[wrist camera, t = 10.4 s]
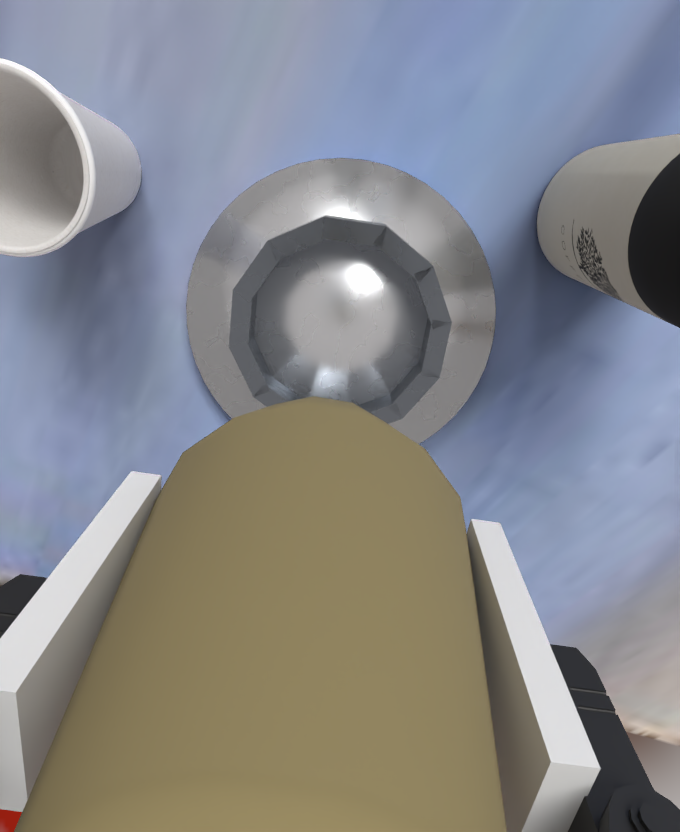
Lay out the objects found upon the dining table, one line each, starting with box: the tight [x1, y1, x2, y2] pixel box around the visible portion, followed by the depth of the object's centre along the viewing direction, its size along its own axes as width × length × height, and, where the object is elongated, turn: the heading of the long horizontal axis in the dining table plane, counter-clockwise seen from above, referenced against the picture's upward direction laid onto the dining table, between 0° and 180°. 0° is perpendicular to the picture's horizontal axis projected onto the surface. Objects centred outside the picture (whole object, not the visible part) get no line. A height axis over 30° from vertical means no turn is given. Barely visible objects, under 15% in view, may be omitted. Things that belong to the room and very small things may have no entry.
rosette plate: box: [186, 158, 496, 444], centre depth 36 cm, size 20×20×4 cm
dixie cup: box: [0, 58, 142, 257], centre depth 30 cm, size 8×8×10 cm
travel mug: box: [537, 134, 680, 328], centre depth 27 cm, size 8×8×18 cm
